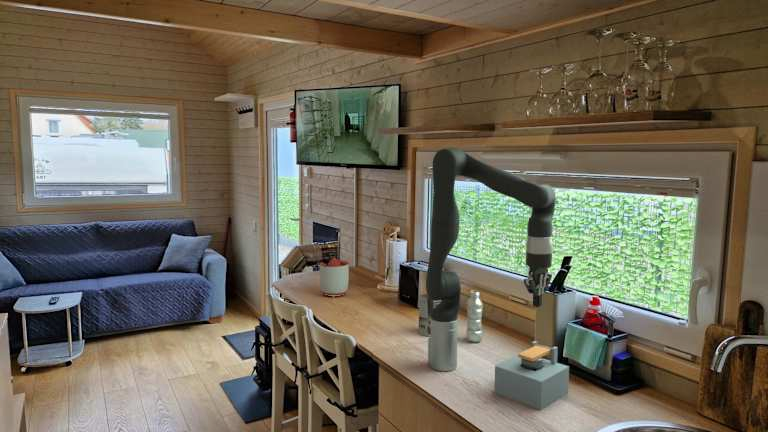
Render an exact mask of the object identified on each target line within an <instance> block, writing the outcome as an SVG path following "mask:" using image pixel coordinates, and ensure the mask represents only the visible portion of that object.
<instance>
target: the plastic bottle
mask: <svg viewBox="0 0 768 432" xmlns="http://www.w3.org/2000/svg"><path fill="white" fill-rule="evenodd" d="M469 293H470V294H469V296H470V297H469V299H468V300H467V301H466V313H467V325H466V326H467V327H466V331H465V332H466V333H465V336H466V339H467V341H469V342H471V343H479V342H481V341H482V340H483V327H482V316H483V307H484V303H483V301H482V299H481V298H480V296H481V294H480V293H481V292H480V291H479V290H476V289H475V290H472V289H471V290H470V291H469Z"/></svg>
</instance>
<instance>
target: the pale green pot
mask: <svg viewBox="0 0 768 432" xmlns="http://www.w3.org/2000/svg"><path fill="white" fill-rule="evenodd" d="M318 264H319V265H318V266H319V285H320V288H321V292H322V295H323V294H327V295H342V294H345V293H346V294H347V291H348V287H349V279H350V278H349V277H350V275H349V274H350V272H349V271H350V270H349V264H350V262H349V261H346V260H338V258H336V257H332V258H331V259H330V260H329V262H328V263H327V264H325V262H323V261H321V262H318ZM346 294H345V295H346Z"/></svg>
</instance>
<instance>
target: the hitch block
mask: <svg viewBox="0 0 768 432" xmlns="http://www.w3.org/2000/svg"><path fill="white" fill-rule="evenodd" d="M538 343H539V342H538V341H536V340H534V341H532V342H531V347H530V348H532V347H534V346H536V345H537V344H538ZM550 348H551V353H550V354H551V355H550V359H546V358H543V368H542V369H540V370H537V371H533V370H528V369H525V368H523V367H522V366H521V358H519V357H518V354H517V355H515V356H513V357H511V358H509V359H506V360H504V361H502V362H500V363H498V364H496V365H495V366H494V390H493V392H494V393H496V394H498V395H501V396H503V397H505V398H509V399H511V400H514V401H517V402H519V403H521V404H524V405H526V406H529V407H532V408H534V409H537V410H539V411H541V410H543V409H545V408H547V407H548V406H549V404H550V405H551V404H553V403H554V401H555V402H556V401H558V400H559V399H562V398H563V397H564V396H566V395H568V394H569V382H570V379H569V377H570V366H569V365H565V364H562V363H559V362H558V355H559V353H558V350H559V349H558V346H553V347H550Z"/></svg>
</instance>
